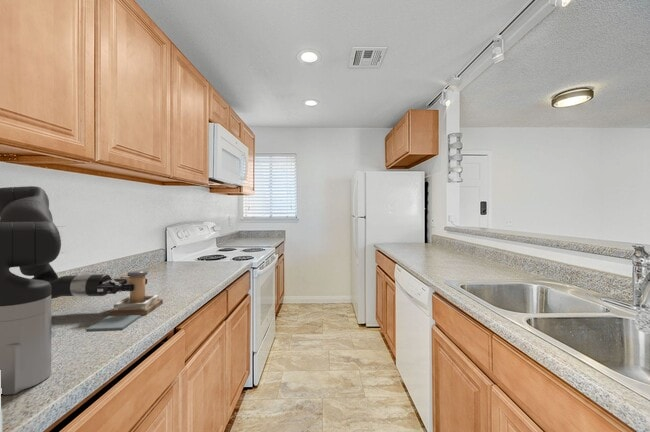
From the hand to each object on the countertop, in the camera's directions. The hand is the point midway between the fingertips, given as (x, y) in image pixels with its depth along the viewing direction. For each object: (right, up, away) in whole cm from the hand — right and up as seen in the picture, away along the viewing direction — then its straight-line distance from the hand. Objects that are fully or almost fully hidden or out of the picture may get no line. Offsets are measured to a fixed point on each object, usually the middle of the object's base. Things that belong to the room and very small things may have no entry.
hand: (140, 284), depth 101 cm
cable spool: (-1, -7, 0) cm, 8 cm away
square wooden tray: (-1, -9, 0) cm, 9 cm away
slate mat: (0, -9, -13) cm, 16 cm away
